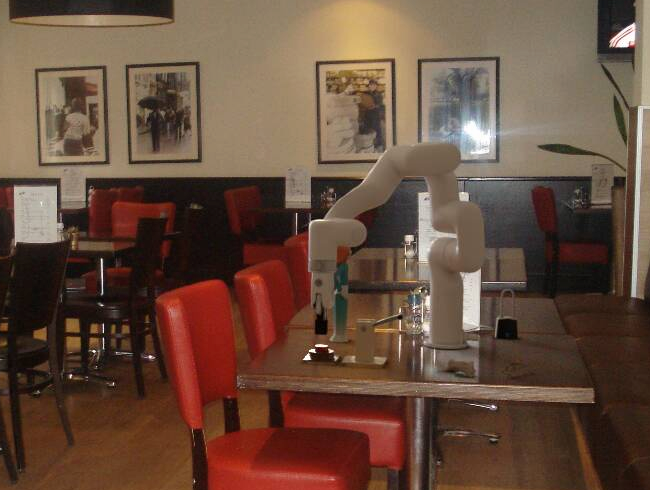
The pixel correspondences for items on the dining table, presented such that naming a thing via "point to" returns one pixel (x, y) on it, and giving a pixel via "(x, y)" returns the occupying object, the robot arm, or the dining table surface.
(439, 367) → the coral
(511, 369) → the fish
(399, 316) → the lever
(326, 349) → the button
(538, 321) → the dining table surface
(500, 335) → the padlock
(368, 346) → the bracket
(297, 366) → the dining table surface
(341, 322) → the sculpture
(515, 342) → the dining table surface
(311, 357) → the button box
